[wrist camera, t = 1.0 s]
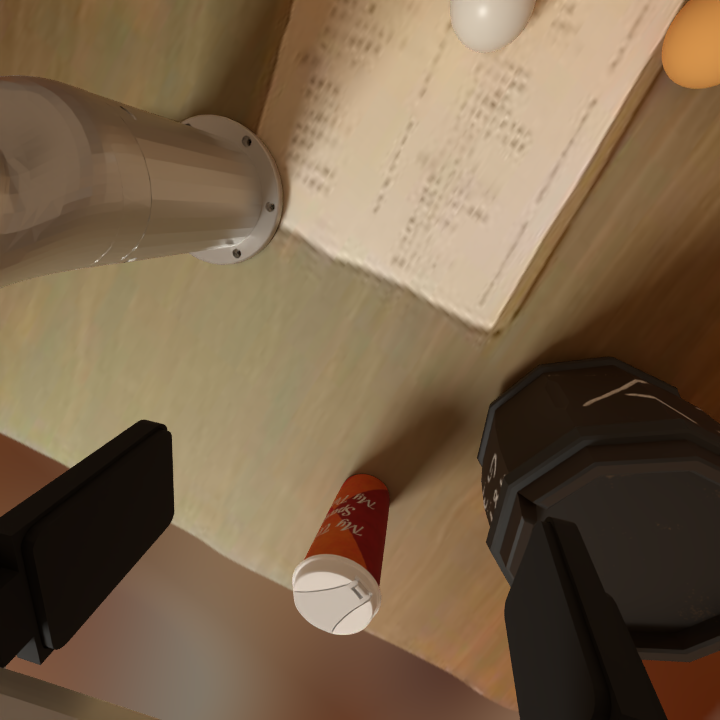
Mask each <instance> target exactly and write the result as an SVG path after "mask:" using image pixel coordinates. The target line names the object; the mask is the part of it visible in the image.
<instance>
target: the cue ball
mask: <svg viewBox="0 0 720 720" xmlns="http://www.w3.org/2000/svg"><path fill="white" fill-rule="evenodd" d="M535 2H536V0H451V1H450V16H451V23H452V26H453V29H454V32H455V34H456V36H457V37H458V39H459V40H460V41H461V43H462V44H463V45H465V46H466V47H467V48H469V49H470V50H473V51H475V52H479V53H490V52H495V51H498V50H500V49H502V48H504V47H506V46H507V45H509V44H510V43H511V42H512V41H514V40H515V39H516V38H517V37H518V36H519V35H520V33H521V32H522V31H523V29H524V28H525V26H526V25H527V23H528V21H529V19H530V17H531V15H532V12H533V10H534V6H535Z"/></svg>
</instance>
